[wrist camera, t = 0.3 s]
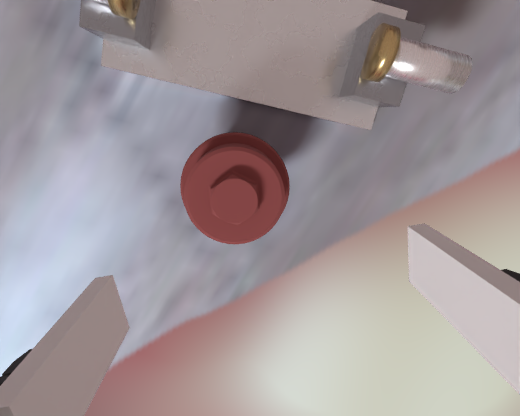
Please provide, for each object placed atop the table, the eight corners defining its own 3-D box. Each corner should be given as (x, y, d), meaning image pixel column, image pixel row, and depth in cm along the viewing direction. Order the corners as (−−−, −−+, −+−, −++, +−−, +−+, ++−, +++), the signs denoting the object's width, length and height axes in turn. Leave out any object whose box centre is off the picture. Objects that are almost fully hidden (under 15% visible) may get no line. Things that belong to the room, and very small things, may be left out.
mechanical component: (179, 192, 38) (214, 112, 36) (256, 226, 40) (294, 152, 37) (151, 229, 26) (201, 113, 24) (263, 276, 28) (319, 172, 26)
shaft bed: (69, 58, 33) (2, 38, 24) (78, -80, 30) (4, -165, 21) (396, 136, 38) (447, 145, 28) (433, 22, 34) (506, -11, 25)
